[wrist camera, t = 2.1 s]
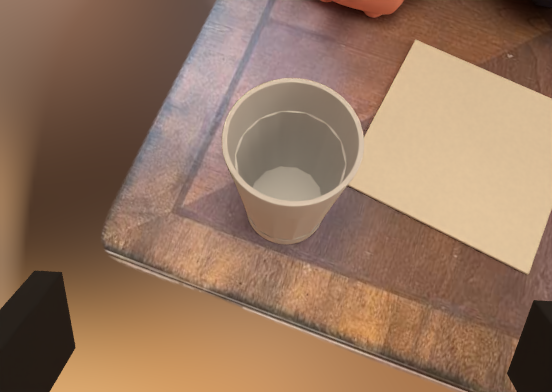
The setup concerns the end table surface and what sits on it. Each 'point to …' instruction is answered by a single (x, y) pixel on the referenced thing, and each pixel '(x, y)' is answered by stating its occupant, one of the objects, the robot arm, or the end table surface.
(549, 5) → the decorative orb
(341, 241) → the end table surface
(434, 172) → the napkin
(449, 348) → the end table surface
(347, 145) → the cup
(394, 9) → the teapot
